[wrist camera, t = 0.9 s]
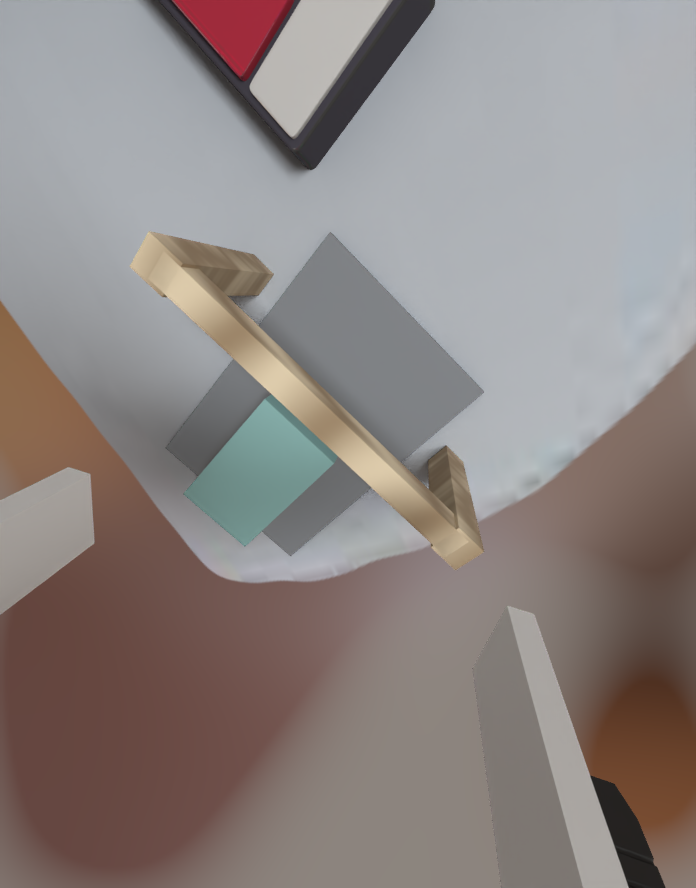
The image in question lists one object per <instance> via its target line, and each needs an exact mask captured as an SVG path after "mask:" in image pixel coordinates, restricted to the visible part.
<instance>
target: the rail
mask: <svg viewBox="0 0 696 888" xmlns="http://www.w3.org/2000/svg"><path fill="white" fill-rule="evenodd" d="M130 267H131V268H132V269H133V270H134V271H135V272H136V273H137V274H138V275H139V276H140V277H141V278H142V279H143V280H145V281H146V282H147V283H148V284H149V285H150V286H151V287H152V288H153V289H154V290H155V291H156V292H157V293H158V294H160V295H161V296H162V297H168V298H169V299H170V300H171V301H172V302H174V303H175V304H176V305H177V306H178V307H179V308H180V309H181V310H182V311H183V312H184V313H185V314H186V315H187V316H188V317H190V318H191V319H192V320H193V321H194V322H195V323H196V324H197V325H198V326H199V327H200V328H201V329H202V330H203V331H205V332H206V333H207V334H208V335H209V336H210V337H211V338H212V339H213V340H214V341H215V342H216V343H217V344H218V345H220V346H221V347H222V348H223V349H224V350H225V351H226V352H227V353H228V354H229V355H230V356H231V357H232V358H233V359H235V360H236V361H237V362H238V363H239V364H240V365H241V366H242V367H243V368H244V369H245V370H246V371H247V372H248V373H249V374H251V375H252V376H253V377H254V378H255V379H256V380H257V381H258V382H259V383H260V384H261V385H262V386H263V387H264V388H266V389H267V390H268V391H269V392H270V393H271V394H272V395H273V396H274V397H275V398H276V399H277V400H278V401H279V402H281V403H282V404H283V405H284V406H285V407H286V408H287V409H288V410H289V411H290V412H291V413H292V414H293V415H294V416H296V417H297V418H298V419H299V420H300V421H301V422H302V423H303V424H304V425H305V426H306V427H307V428H308V429H309V430H311V431H312V432H313V433H314V434H315V435H316V436H317V437H318V438H319V439H320V440H321V441H322V442H323V443H324V444H325V445H327V446H328V447H329V448H330V449H331V450H332V451H333V452H334V453H335V454H336V455H337V456H338V457H339V458H340V459H342V460H343V461H344V462H345V463H346V464H347V465H348V466H349V467H350V468H351V469H352V470H353V471H354V472H355V473H357V474H358V475H359V476H360V477H361V478H362V479H363V480H364V481H365V482H366V483H367V484H368V485H369V486H370V487H372V488H373V489H374V490H375V491H376V492H377V493H378V494H379V495H380V496H381V497H382V498H383V499H384V500H385V501H386V502H388V503H389V504H390V505H391V506H392V507H393V508H394V509H395V510H396V511H397V512H398V513H399V514H400V515H401V516H403V517H404V518H405V519H406V520H407V521H408V522H409V523H410V524H411V525H412V526H413V527H414V528H415V529H416V530H418V531H419V532H420V533H421V534H422V535H423V536H424V537H425V538H426V539H427V540H428V541H429V542H430V543H431V548H432V549H433V550H434V551H435V552H436V553H437V554H438V555H440V556H441V557H442V558H443V559H444V560H445V561H446V562H447V563H448V564H449V565H450V566H451V567H453V568H454V569H455V570H457V569H458V568H460V567H461V566H463V565H464V564H466V563H468V562H469V561H471V560H472V559H474V558H475V557H477V556H478V555H480V554H482V553H483V552H484V549H483V545H482V540H481V536H480V532H479V528H478V523H477V519H476V515H475V511H474V507H473V502H472V498H471V494H470V490H469V485H468V481H467V477H466V473H465V469H464V464H463V462H462V461H461V460H460V459H459V458H458V457H457V456H456V455H455V454H454V453H453V452H452V451H451V450H450V449H449V448H448V447H447V446H445V447H444V448H443V449H442V450H440V451H439V452H438V453H437V454H435V455H434V456H433V457H432V458H431V459H429V460H428V474H429V489H428V488H427V487H426V486H424V485H423V484H422V483H421V482H420V481H419V480H418V479H417V478H416V477H415V476H414V475H413V474H412V473H411V472H410V471H409V470H408V469H407V468H406V467H405V466H404V465H403V464H402V463H401V462H400V461H398V460H397V459H396V458H395V457H394V456H393V455H392V454H391V453H390V452H389V451H388V450H387V449H386V448H385V447H384V446H383V445H382V444H381V443H380V442H379V441H378V440H377V439H376V438H375V437H373V436H372V435H371V434H370V433H369V432H368V431H367V430H366V429H365V428H364V427H363V426H362V425H361V424H360V423H359V422H358V421H357V420H356V419H355V418H354V417H353V416H352V415H351V414H350V413H348V412H347V411H346V410H345V409H344V408H343V407H342V406H341V405H340V404H339V403H338V402H337V401H336V400H335V399H334V398H333V397H332V396H331V395H330V394H329V393H328V392H327V391H326V390H325V389H324V388H322V387H321V386H320V385H319V384H318V383H317V382H316V381H315V380H314V379H313V378H312V377H311V376H310V375H309V374H308V373H307V372H306V371H305V370H304V369H303V368H302V367H301V366H300V365H299V364H297V363H296V362H295V361H294V360H293V359H292V358H291V357H290V356H289V355H288V354H287V353H286V352H285V351H284V350H283V349H282V348H281V347H280V346H279V345H278V344H277V343H276V342H275V341H274V340H272V339H271V338H270V337H269V336H268V335H267V334H266V333H265V332H264V331H263V330H262V329H261V328H260V327H259V326H258V325H257V324H256V323H255V322H254V321H253V320H252V319H251V318H250V317H249V316H248V315H246V314H245V313H244V312H243V311H242V310H241V309H240V308H239V307H238V306H237V305H236V304H235V303H234V302H233V301H232V300H231V299H230V298H229V297H228V296H246V295H259V294H260V293H261V291H262V290H263V289H264V287H265V286H266V284H267V283H268V282H269V280H270V279H271V278H272V276H273V275H274V274H273V273H272V272H271V271H270V270H269V269H268V268H267V267H266V266H265V265H264V264H263V263H262V262H261V261H260V260H259V259H258V258H257V257H256V256H255V255H253V254H249V253H244V252H240V251H235V250H231V249H226V248H222V247H218V246H213V245H209V244H204V243H200V242H195V241H191V240H186V239H182V238H177V237H173V236H168V235H164V234H159V233H155V232H150V231H149V232H148V234H147V235H146V237H145V239H144V241H143V243H142V245H141V247H140V248H139V250H138V252H137V254H136V256H135V258H134V260H133V261H132V263H131V265H130Z"/></svg>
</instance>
